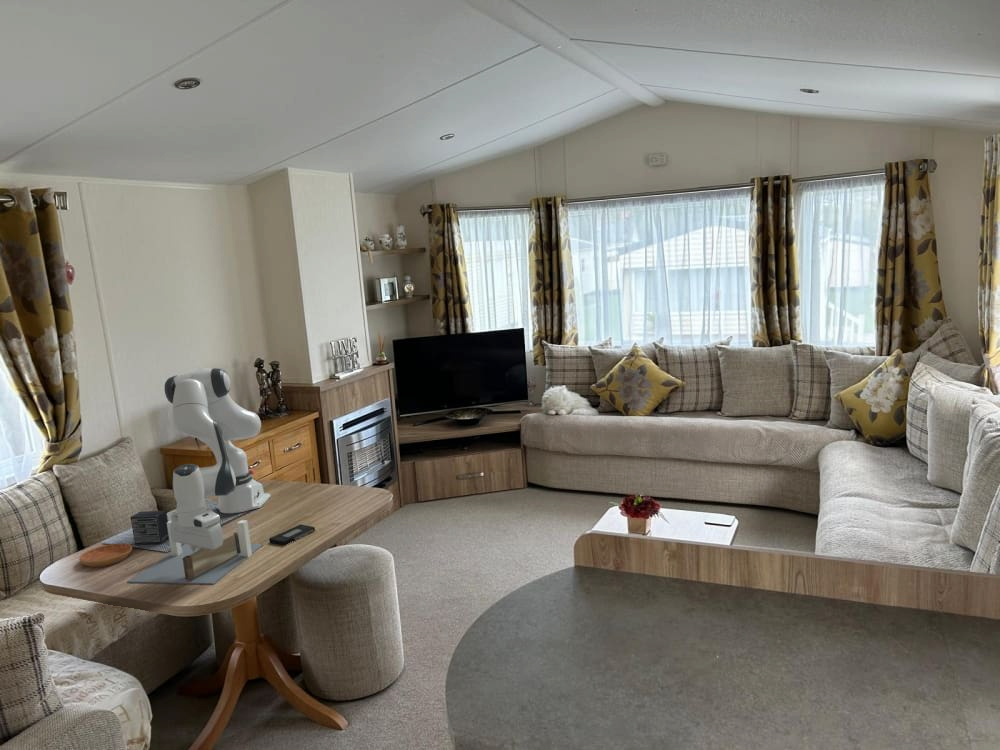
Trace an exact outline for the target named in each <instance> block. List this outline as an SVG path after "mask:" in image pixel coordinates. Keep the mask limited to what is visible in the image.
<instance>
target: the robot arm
mask: <svg viewBox="0 0 1000 750" xmlns="http://www.w3.org/2000/svg"><path fill="white" fill-rule="evenodd" d="M230 390H231V379H230V376H229V375H228V372H227V371H226V370H225V369H222V368H218V367H216V368H213V367H212V368H209V367H202V368H199V369H197V370H194V371H190V372H185V373H183V374H179V375H173V376H171V377H168V379H167V380H166V381H165V383H164V395H165V397H166V399H167V401H168V402H169V403H171V404H172V418H173V419H172V420H173V424H174V426H175V429H177V430H178V432H180V433H182V434H184V435H186V436H188V437H190V438H197V440H199V441H201V442H203V443H204V444H205V445H206V446H207V447H208V448H209V449H210V450H211V451H212V454H213V455H214V458H215V460H216V464H215V465H210V466H203V467H199V465H197V464H194V463H186V464H185V463H184V464H182V465H179V466H178V467H176V468H175V469H174V470H173V475H172V482H171V489H172V494H173V497H174V499H175V501H176V512H175V513H173V514H172V515H171V516H170V521H171V523H170V533H171V539H172V541H173V542H177V543H181V544H182V545H183V544H188V545H190V548H191V550H192V551H193V553H194V552H196V551H198V550H201V549H203V548H209V549H216V548H218V547H220V546H222V544H223V538H224V535H223V529H222V526H221V524H220V521H221V517H220V515H219V514H218V513H217V512H214V511H213V510H211V509H210V508H209V507H208V503H207V502H206V500H205V498H207V497H214V496H216V497H218V499H217V500H218V504H217V505H216V509H218V510H219V512H220V513H222V514H237V513H243V512H247V511H250V510H256V509H259V508H261V507H262V506H263V505H264V504H265V503H266V502H267V501H268V500H269V498H271V494H270V493H267V492H264V487H263V484H262V483H261V482H259V481H256V480H255V479H253V476H252V475H254V474H255V473H256V472H255V469H249V466H248V465H249V464H248V457H247V454H246V452H245V451H244V450H243V449H242V448H239V447H237V446H235V445H234V444H233V443H232V442H231V441H236V440H237V441H239V440H247V439H250V438H254V437H257V436H258V434H259V433H260V431H261V428H262V422H261V419H260V416H259V415H258V414H257V413H256V412H254V411H250V410H247V409H246V408H244V407H242V406H240V405H239V404H237V402H235V401H234V399H232V397H231V396H230V394H229V393H230Z"/></svg>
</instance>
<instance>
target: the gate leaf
mask: <svg viewBox="0 0 1000 750" xmlns="http://www.w3.org/2000/svg"><path fill="white" fill-rule="evenodd" d="M240 553H241V550H240V541H239V534H238V531H236V532H233V533H231V534H229V535H227V536H225V537H223V544H222V546H220V547H218V548H216V549H209V548H203V549H201V550H198V551H196V552H194V553H192V554H190V555H188V556H186V557H184V558H182V559H183V565H184V572H185V579H186V580H191V579H192V578H194V577H196V576H197V575H199V574H201V573H203V572H205V571H207V570H209V569H211V568H213V567H215V566H216V565H218V564H220V563H222V562H224V561H226V560H228V559H230V558H232V557H233V556H235V555H237V554H240Z"/></svg>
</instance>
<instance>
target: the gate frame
mask: <svg viewBox="0 0 1000 750" xmlns="http://www.w3.org/2000/svg"><path fill="white" fill-rule="evenodd" d="M170 523H171V520H168V522H167V528H168V535H169V539H168V541H169V547H170V553H168V554H167V555H165V556H164V557H162V558H160V559H159V560H158V561H156V562H155V563H153V564H151V565H150V566H148V567H147V568H145V569H144V570H143V571H141V572H139V573H138V574H137V575H135V576H133V577H132V578H131V579H128V580H127V583H130V584H131V583H132V584H133V583H135V584H170V585H171V584H172V585H173V584H175V585H177V584H178V585H179V584H180V585H216V584H217V583H218V582H219V581H220V580H221V579H222V578H224V577H225V576H226V575H228V574H229V573H230V572H231V571H233V570H234V569H235V568H236V567H238V566H239V565H240V564H242V562H243V563H244V561H245V560H247V559H248V558H249V557H251V556H252V555H253V554H254V553H256V551H258V550H259V549H260V548H262V547H263V546H264V544H263V543H251V536H250V531H249V530H250V528H249V523H248V519H247V520H244V519H242V520H239V521H238V522H236V525H237V532H238V536H239V543H240V550H241V553H240V554H237V555H235V556H233V557H232V558H230V559H228V560H226V561H224V562H222V563H220V564H218V565H216V566H215V567H213V568H211V569H209V570H207V571H205V572H203V573H201V574H199V575H197V576H196V577H194V578H192V579H191V580H186V579H185V572H184V565H183V559H182V558H184V557H186V556H188V555H190V554H192V553H193V551H192V550H191V548H190V545H188V544H183V543H177V542H173V541H172V539H171V533H170Z"/></svg>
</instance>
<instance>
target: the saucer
mask: <svg viewBox="0 0 1000 750" xmlns="http://www.w3.org/2000/svg"><path fill="white" fill-rule="evenodd" d="M132 551H133V546H132V545H131V544H129V543H124V542H119V543H118V542H117V543H109V544H104V545H101V546H97V547H94V548H92V549H89V550H87V551H85V552H84V553H81V555H80V556H79V559H78V560H79V562H80V563H81V564H83V565H84V566H87V567H89V568H101V567H102V568H103V567H107V566H111V565H115V564H117V563H119V562H121V561H123V560H125V559H126V558H128V556H129V555H130V554H131V552H132Z"/></svg>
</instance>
